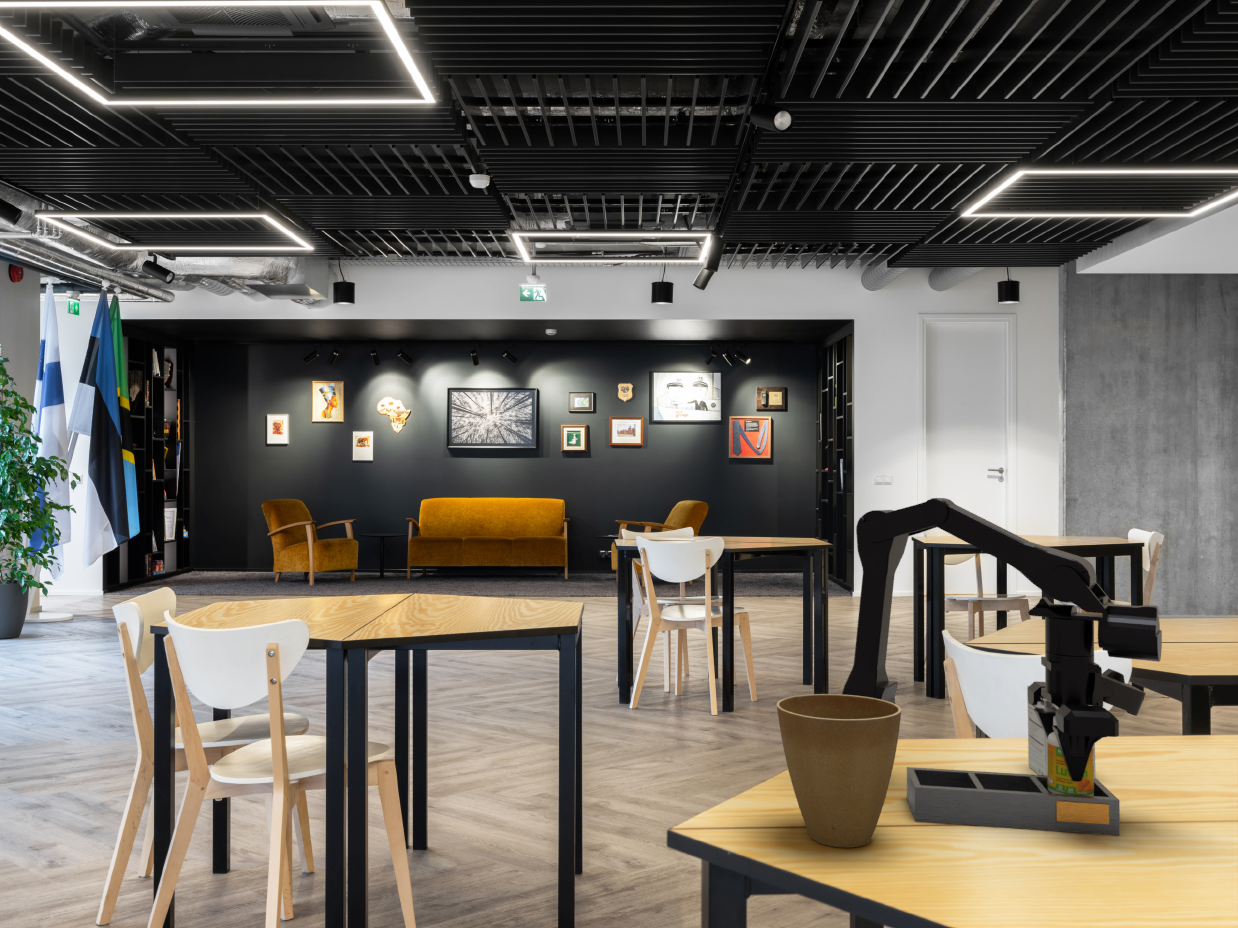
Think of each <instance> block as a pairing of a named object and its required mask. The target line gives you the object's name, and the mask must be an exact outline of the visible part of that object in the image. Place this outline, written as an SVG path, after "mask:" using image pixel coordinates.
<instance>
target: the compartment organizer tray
mask: <svg viewBox="0 0 1238 928" xmlns="http://www.w3.org/2000/svg"><path fill="white" fill-rule="evenodd" d="M906 800H907V803H908V805H909V808H910V811H911V814H912V817H913V819H914V822H923V823H935V824H950V825H962V826H963V825H964V826H981V827H994V828H1007V829H1008V828H1009V829H1020V830H1021V829H1023V830H1037V831H1047V832H1048V831H1050V832H1051V831H1052V832H1065V833H1078V834H1079V833H1080V834H1093V835H1094V834H1095V835H1108V836H1120V835H1121V823H1120V822H1121V821H1120V819H1121V816H1120V812H1121V811H1120V809H1121V808H1120V799H1119V797H1117V796H1115V794H1113V793H1112V792H1111V790H1109V789H1108V788H1107V787H1106V786H1105V785H1104V784H1103V783H1102V782H1101V781H1100V780H1099V779H1098V778H1094V795H1093V796H1083V795H1067V794H1052V793H1050V792H1049V790H1048V775H1038V774H1030V773H1015V772H1013V773H1012V772H1009V773H1008V772H996V771H995V772H994V771H979V770H978V771H976V770H962V769H960V770H959V769H944V768H932V767H931V768H929V767H927V768H925V767H912V766H907V767H906Z"/></svg>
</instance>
